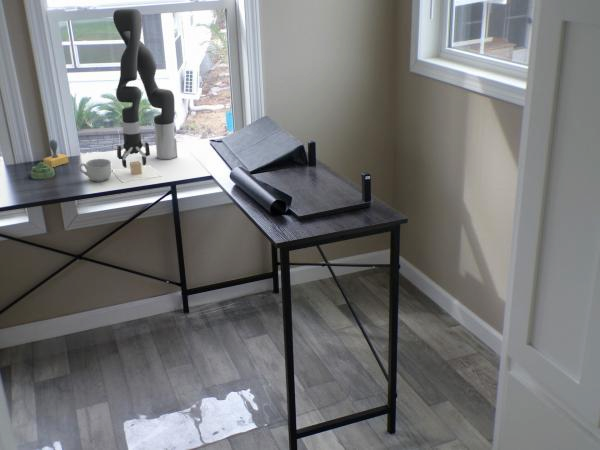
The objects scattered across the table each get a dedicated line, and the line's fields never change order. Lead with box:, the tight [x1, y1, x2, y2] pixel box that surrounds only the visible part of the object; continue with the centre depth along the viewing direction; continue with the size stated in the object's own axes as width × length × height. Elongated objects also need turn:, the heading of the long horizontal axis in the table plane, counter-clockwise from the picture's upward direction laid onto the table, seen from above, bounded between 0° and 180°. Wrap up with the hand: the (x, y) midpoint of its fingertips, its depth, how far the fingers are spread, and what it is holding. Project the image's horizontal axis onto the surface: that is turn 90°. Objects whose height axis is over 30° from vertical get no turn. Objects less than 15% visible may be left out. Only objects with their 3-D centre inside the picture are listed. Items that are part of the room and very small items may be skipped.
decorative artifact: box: [30, 160, 56, 180], centre depth 301 cm, size 10×7×10 cm
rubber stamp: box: [42, 139, 69, 168], centre depth 315 cm, size 10×6×12 cm, turn 150°
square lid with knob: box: [111, 160, 162, 183], centre depth 305 cm, size 18×18×6 cm
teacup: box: [77, 158, 112, 183], centre depth 296 cm, size 14×11×8 cm
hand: (134, 166), depth 304 cm, fingers open, 8 cm apart
